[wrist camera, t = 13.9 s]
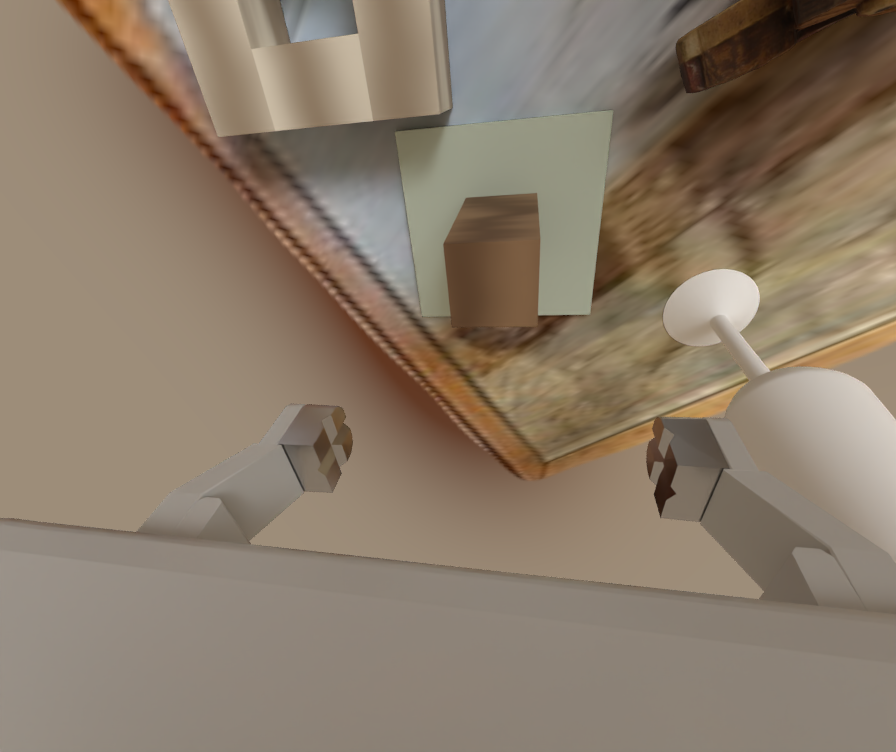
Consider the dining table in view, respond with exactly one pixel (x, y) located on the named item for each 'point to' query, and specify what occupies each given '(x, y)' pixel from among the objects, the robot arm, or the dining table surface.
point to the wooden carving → (758, 35)
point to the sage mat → (507, 173)
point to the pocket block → (315, 65)
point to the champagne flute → (797, 412)
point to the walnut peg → (494, 262)
